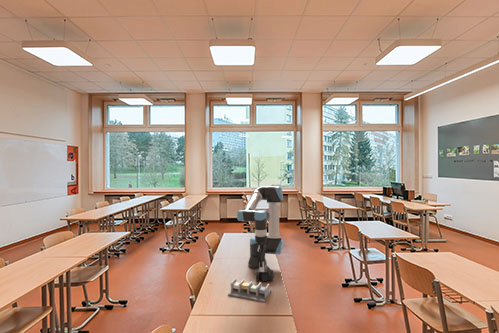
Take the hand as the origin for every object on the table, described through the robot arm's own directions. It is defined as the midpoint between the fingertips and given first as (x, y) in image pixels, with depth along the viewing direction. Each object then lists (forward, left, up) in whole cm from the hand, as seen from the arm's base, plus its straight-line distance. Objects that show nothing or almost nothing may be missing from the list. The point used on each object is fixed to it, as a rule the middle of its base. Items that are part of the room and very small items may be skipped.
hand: (261, 271), depth 165 cm
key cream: (+4, -16, -11) cm, 20 cm away
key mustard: (+4, -10, -10) cm, 15 cm away
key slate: (+4, +2, -11) cm, 12 cm away
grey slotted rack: (+4, -7, -14) cm, 16 cm away
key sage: (+4, -4, -11) cm, 12 cm away
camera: (-17, -4, -14) cm, 22 cm away
